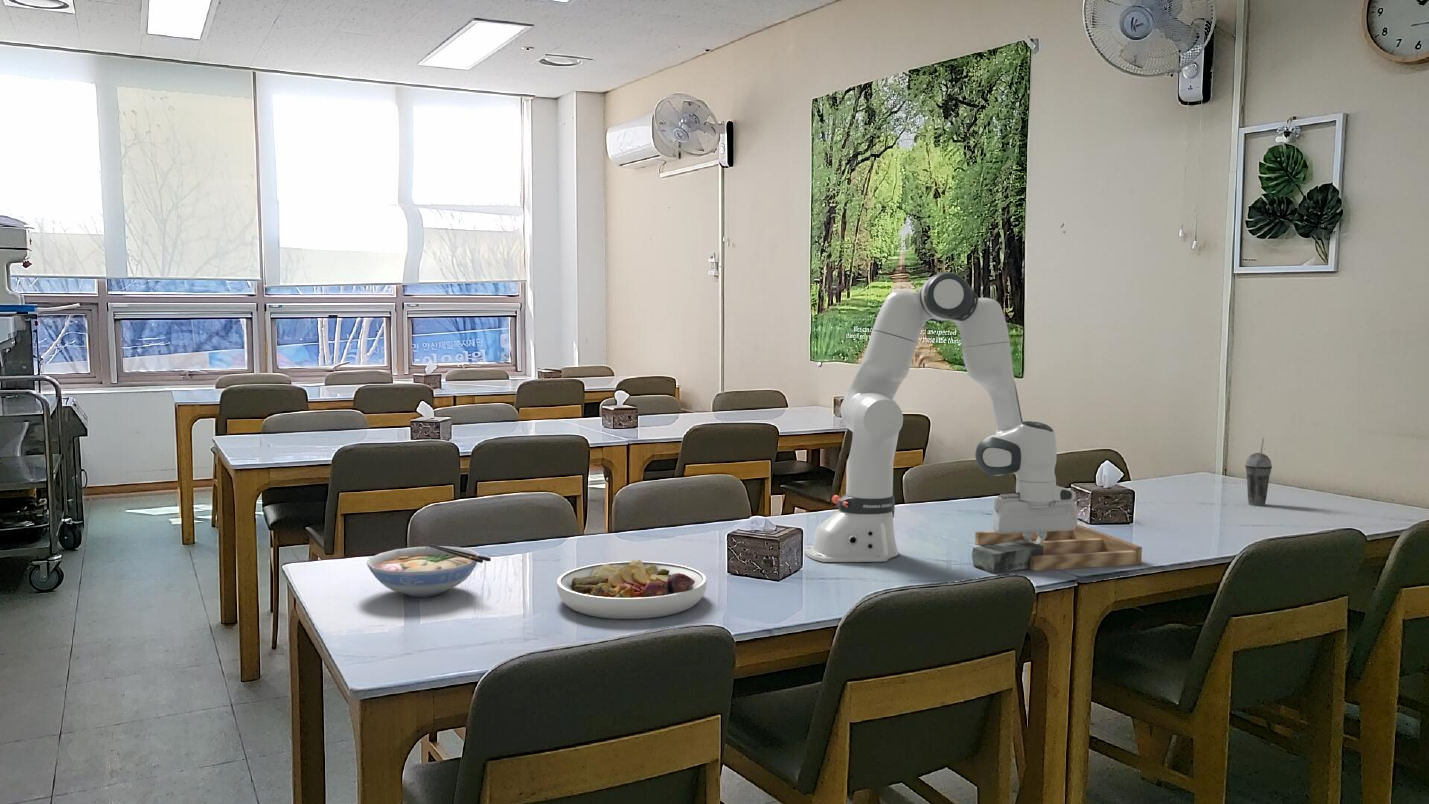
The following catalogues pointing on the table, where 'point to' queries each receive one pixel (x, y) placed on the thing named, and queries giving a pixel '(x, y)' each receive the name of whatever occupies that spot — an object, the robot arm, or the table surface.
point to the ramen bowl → (424, 568)
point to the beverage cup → (1258, 477)
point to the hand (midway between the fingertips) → (1034, 550)
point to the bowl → (631, 589)
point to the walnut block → (1050, 536)
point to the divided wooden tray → (1073, 549)
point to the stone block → (1005, 556)
